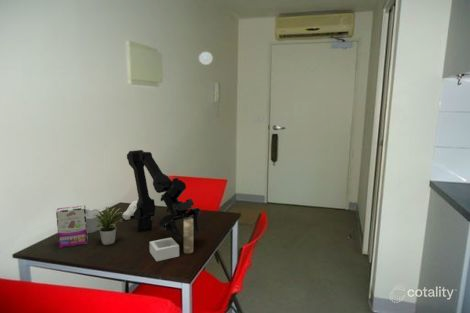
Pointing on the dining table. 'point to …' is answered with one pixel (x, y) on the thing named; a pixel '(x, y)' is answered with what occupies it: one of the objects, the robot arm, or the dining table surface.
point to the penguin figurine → (130, 210)
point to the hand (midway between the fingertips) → (189, 234)
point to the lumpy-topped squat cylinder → (92, 220)
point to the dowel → (188, 235)
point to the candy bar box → (72, 226)
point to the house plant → (108, 226)
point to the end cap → (164, 249)
